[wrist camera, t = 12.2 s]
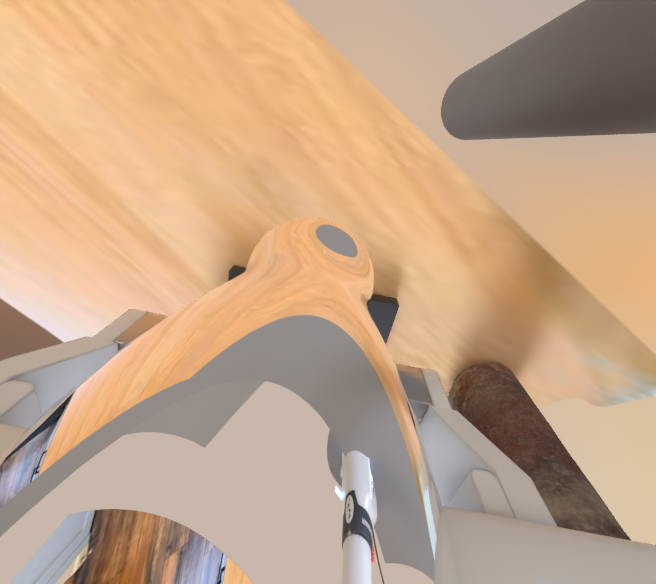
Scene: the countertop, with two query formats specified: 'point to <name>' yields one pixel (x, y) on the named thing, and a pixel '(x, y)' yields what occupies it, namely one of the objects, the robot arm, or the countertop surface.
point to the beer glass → (236, 443)
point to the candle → (531, 447)
